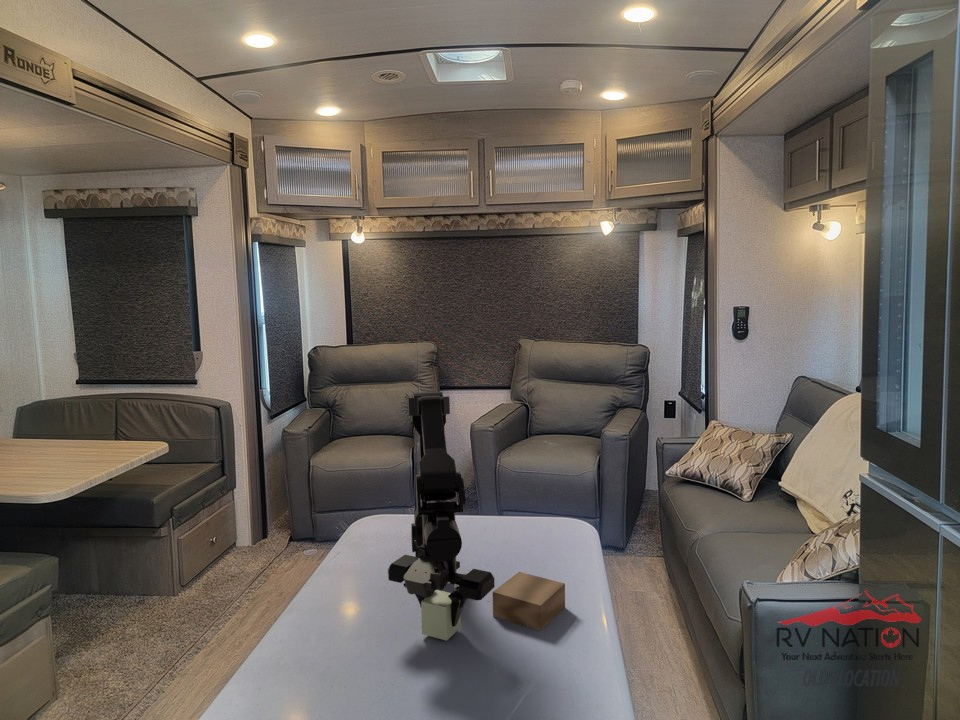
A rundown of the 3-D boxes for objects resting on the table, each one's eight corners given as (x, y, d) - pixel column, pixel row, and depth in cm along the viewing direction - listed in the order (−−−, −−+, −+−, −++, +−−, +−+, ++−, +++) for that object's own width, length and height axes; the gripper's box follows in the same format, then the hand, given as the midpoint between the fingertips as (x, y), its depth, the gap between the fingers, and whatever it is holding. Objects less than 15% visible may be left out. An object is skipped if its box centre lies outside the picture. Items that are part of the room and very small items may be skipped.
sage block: (422, 634, 116) (421, 601, 115) (436, 620, 120) (435, 589, 119) (446, 640, 113) (446, 607, 113) (460, 626, 118) (460, 595, 117)
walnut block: (492, 617, 123) (492, 591, 122) (519, 595, 131) (519, 571, 130) (540, 632, 117) (540, 605, 117) (565, 608, 126) (565, 583, 125)
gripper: (367, 545, 112) (371, 632, 114) (464, 565, 103) (466, 658, 105) (404, 523, 122) (406, 603, 123) (495, 540, 113) (496, 625, 115)
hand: (441, 622), depth 116 cm, fingers closed on sage block, 5 cm apart
